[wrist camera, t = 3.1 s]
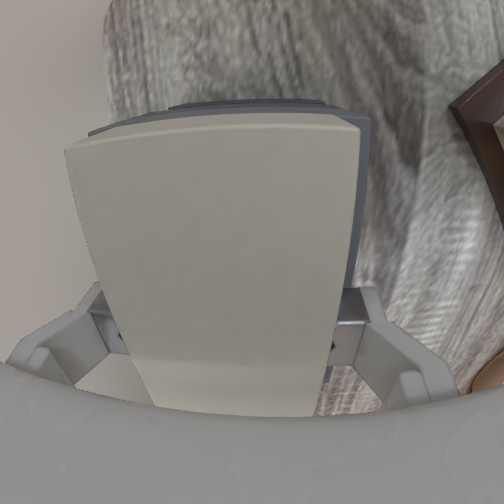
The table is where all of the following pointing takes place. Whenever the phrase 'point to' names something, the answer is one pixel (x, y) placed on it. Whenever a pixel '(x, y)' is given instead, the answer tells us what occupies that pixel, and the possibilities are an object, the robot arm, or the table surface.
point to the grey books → (283, 107)
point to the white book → (222, 252)
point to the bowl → (490, 374)
